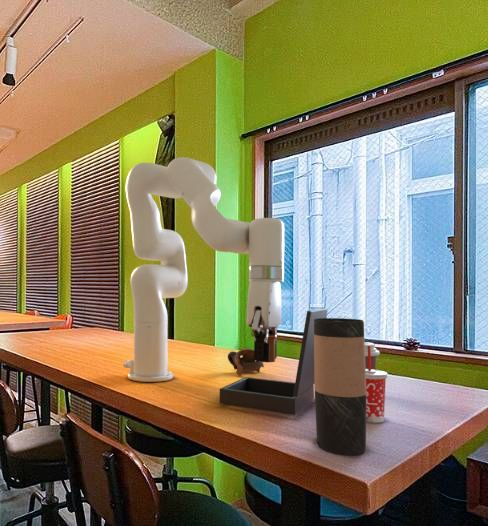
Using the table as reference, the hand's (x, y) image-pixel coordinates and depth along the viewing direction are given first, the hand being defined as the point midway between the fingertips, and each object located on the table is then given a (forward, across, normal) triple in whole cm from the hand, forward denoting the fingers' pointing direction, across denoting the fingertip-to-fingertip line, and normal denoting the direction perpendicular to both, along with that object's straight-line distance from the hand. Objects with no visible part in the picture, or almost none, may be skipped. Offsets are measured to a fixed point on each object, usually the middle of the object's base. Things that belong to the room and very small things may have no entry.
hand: (265, 358), depth 95 cm
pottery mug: (+10, -30, -16) cm, 36 cm away
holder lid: (-3, 0, +9) cm, 10 cm away
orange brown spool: (0, 0, 0) cm, 0 cm away
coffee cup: (+10, -22, +16) cm, 29 cm away
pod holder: (+10, 0, +1) cm, 10 cm away
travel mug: (+9, +18, +19) cm, 28 cm away
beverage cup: (+10, -1, +21) cm, 23 cm away
